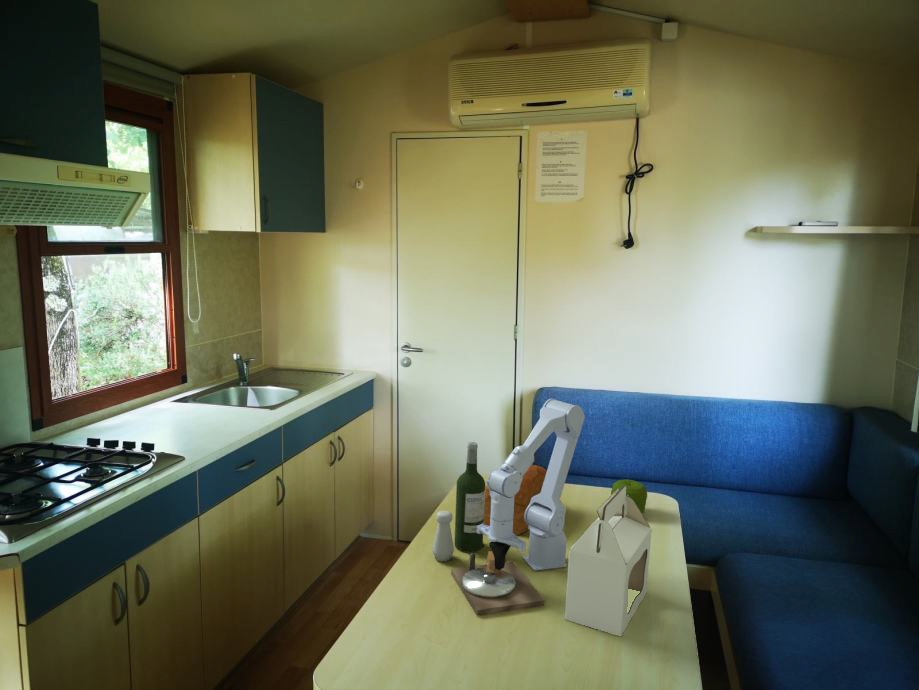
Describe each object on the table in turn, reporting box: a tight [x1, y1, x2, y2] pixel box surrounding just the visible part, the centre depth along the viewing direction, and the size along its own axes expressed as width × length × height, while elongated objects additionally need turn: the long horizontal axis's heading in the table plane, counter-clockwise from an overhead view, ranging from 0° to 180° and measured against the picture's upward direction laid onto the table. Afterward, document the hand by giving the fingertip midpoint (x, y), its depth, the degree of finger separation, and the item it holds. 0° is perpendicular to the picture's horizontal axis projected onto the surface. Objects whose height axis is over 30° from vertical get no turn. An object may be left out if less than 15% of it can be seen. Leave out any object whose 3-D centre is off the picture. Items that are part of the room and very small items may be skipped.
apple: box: [610, 479, 648, 517], centre depth 222 cm, size 11×11×11 cm
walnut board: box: [450, 552, 546, 617], centre depth 172 cm, size 17×20×6 cm
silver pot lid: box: [462, 550, 515, 598], centre depth 172 cm, size 15×13×5 cm
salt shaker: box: [432, 510, 455, 562], centre depth 187 cm, size 6×6×13 cm
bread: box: [484, 464, 550, 536], centre depth 216 cm, size 16×27×16 cm, turn 152°
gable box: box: [564, 486, 653, 635], centre depth 164 cm, size 22×13×28 cm, turn 151°
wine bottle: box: [454, 441, 486, 553], centre depth 193 cm, size 8×8×30 cm
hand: (499, 568), depth 176 cm, fingers closed, pressing on silver pot lid
